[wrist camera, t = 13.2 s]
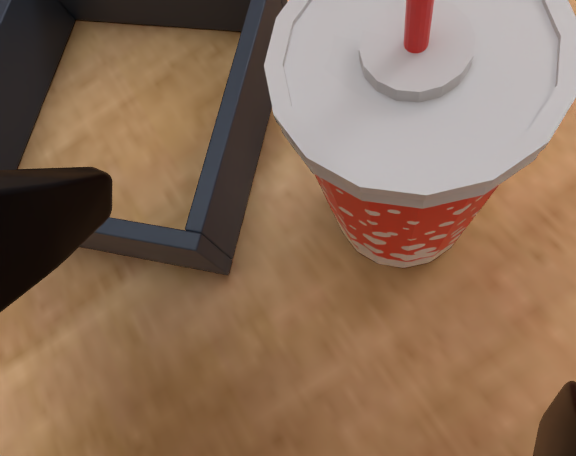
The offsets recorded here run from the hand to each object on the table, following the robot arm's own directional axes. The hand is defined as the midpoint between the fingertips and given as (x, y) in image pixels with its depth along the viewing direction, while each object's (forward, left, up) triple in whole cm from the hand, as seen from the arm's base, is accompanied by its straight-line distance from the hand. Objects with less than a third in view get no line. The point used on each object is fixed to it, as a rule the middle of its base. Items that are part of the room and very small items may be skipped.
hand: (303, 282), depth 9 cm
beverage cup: (+5, 0, -9) cm, 10 cm away
